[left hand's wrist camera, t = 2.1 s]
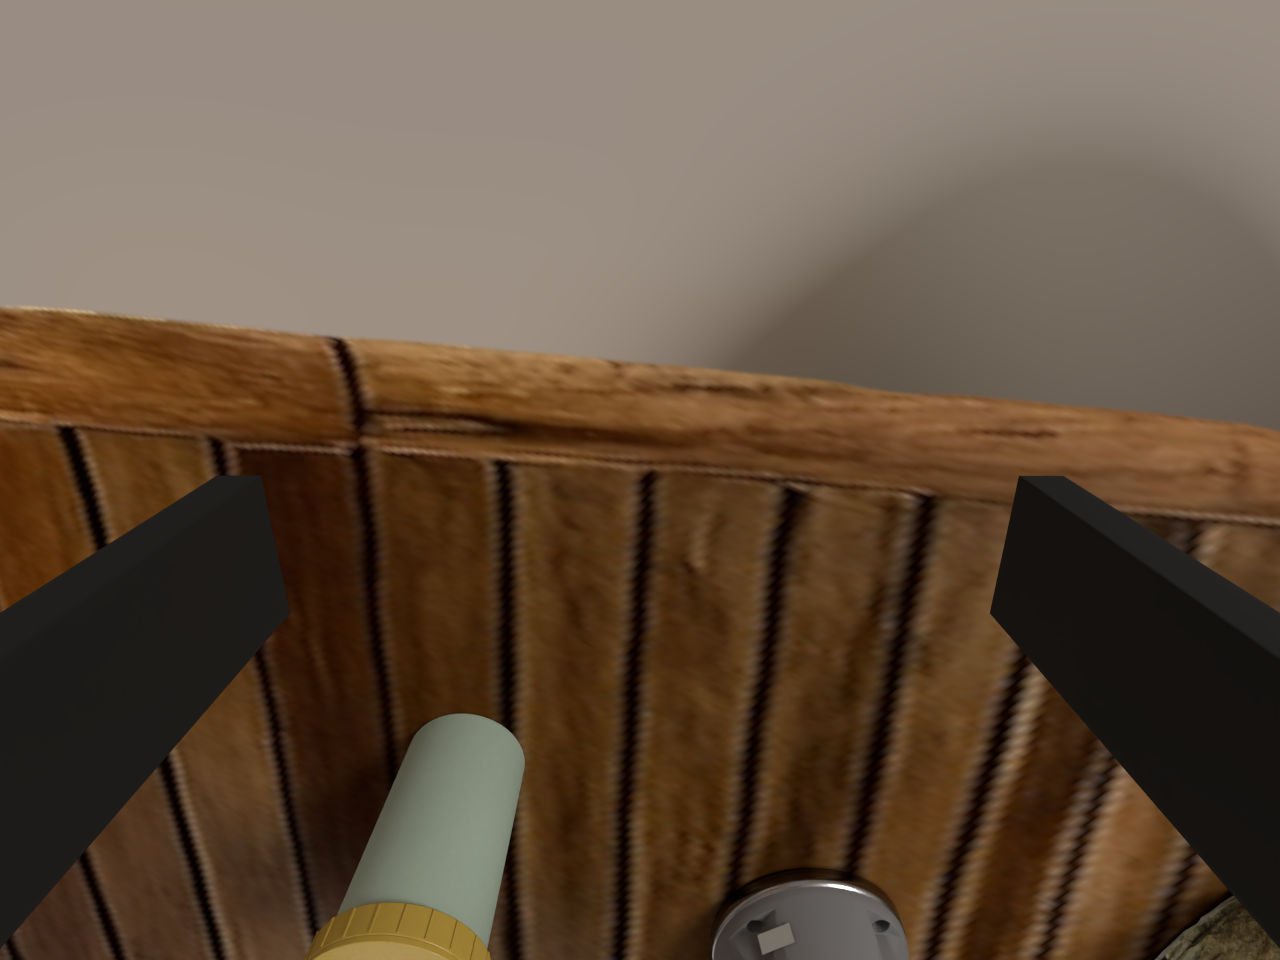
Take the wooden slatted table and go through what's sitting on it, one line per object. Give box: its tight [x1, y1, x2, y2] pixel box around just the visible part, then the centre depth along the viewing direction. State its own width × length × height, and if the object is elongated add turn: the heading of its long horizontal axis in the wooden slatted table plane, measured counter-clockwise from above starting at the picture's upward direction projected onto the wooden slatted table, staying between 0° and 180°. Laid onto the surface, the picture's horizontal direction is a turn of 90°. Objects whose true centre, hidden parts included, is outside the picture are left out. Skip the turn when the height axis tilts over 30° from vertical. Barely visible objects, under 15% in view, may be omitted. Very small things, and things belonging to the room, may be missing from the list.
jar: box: [337, 714, 525, 949], centre depth 42 cm, size 8×8×16 cm
